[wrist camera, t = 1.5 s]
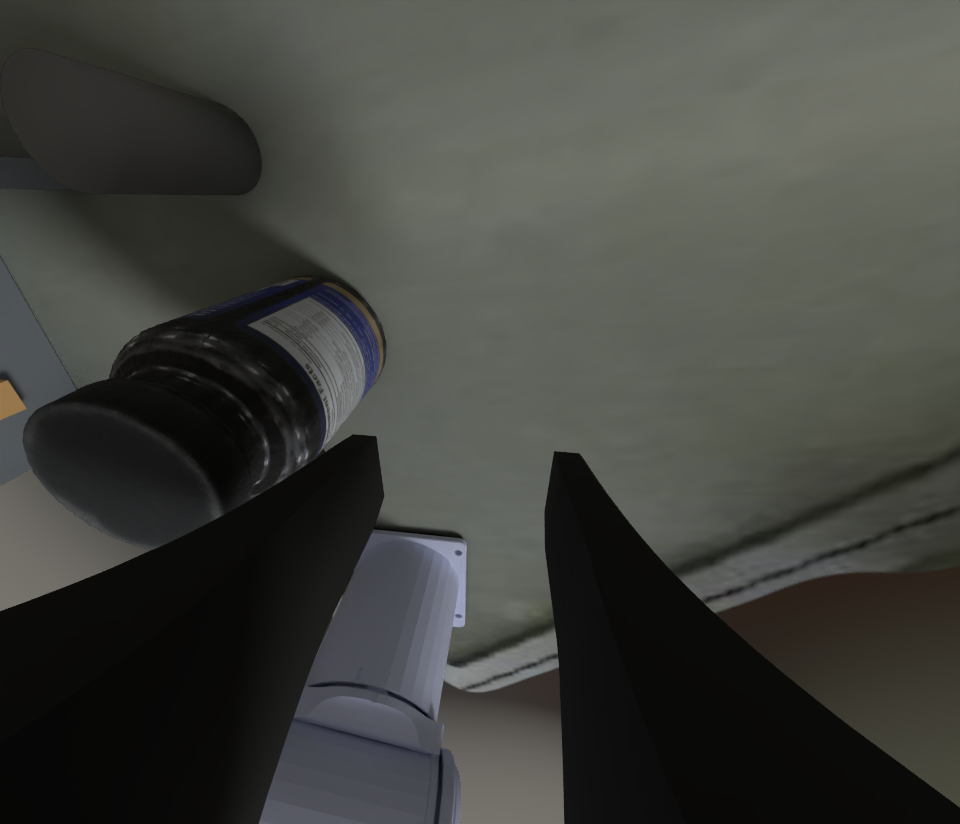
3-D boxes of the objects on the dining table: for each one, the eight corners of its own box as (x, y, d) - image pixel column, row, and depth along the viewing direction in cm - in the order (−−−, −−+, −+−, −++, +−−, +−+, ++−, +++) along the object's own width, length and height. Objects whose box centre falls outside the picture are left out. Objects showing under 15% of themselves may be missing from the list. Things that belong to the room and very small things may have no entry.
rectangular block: (190, 438, 23) (92, 510, 17) (85, 429, 23) (-41, 496, 18) (70, 161, 16) (-155, 144, 10) (-78, 157, 16) (-362, 138, 11)
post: (269, 196, 15) (141, 195, 10) (201, 193, 16) (43, 192, 11) (249, 103, 14) (87, 48, 9) (174, 102, 14) (-27, 47, 9)
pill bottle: (276, 380, 20) (50, 548, 10) (260, 261, 17) (-82, 343, 7) (388, 402, 20) (265, 590, 10) (393, 286, 17) (222, 402, 7)
